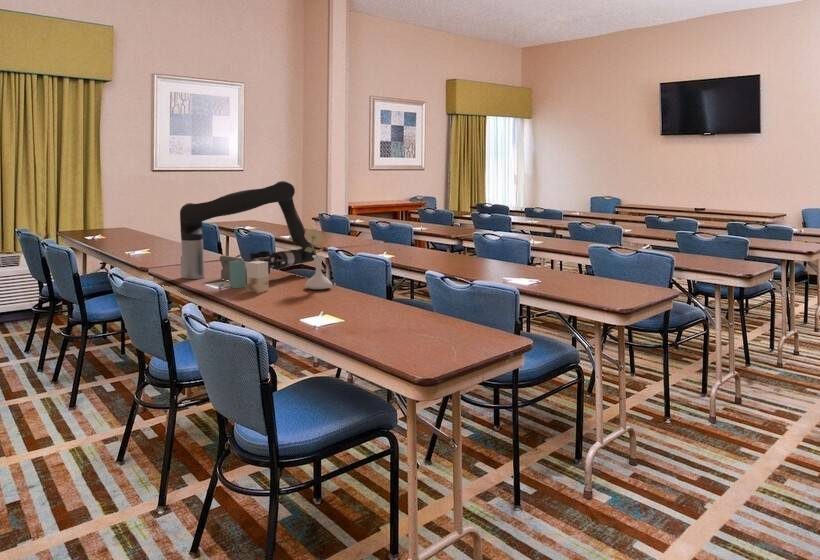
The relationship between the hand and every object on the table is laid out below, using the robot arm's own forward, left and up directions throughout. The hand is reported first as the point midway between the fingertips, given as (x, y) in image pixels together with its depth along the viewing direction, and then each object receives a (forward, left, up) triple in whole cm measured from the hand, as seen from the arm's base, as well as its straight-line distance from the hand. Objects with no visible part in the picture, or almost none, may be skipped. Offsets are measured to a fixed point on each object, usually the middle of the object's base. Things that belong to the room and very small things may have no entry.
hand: (256, 264), depth 282 cm
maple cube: (+13, -13, -8) cm, 20 cm away
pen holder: (-17, +21, -9) cm, 28 cm away
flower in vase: (+29, +5, -9) cm, 30 cm away
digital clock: (-14, +1, -9) cm, 16 cm away
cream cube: (+13, -13, -2) cm, 19 cm away
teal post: (0, -11, -8) cm, 14 cm away
